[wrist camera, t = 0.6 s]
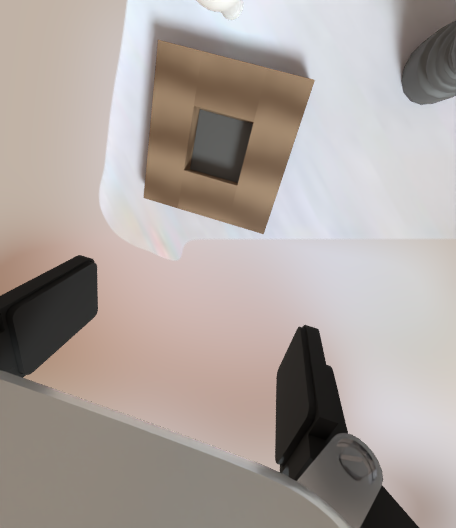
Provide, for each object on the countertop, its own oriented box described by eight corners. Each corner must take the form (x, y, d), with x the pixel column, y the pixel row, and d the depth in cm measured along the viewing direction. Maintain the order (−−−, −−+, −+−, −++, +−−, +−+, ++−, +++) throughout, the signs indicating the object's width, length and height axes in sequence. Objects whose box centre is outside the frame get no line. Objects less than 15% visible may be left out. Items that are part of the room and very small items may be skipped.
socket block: (168, 49, 30) (158, 39, 27) (311, 86, 29) (314, 79, 26) (153, 194, 38) (143, 197, 35) (264, 228, 37) (263, 234, 34)
